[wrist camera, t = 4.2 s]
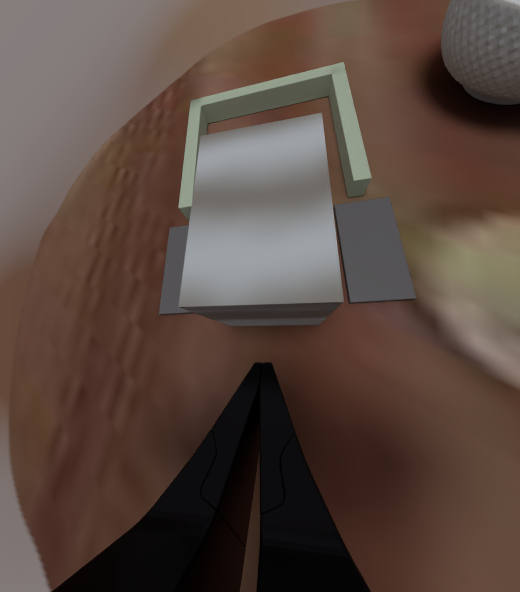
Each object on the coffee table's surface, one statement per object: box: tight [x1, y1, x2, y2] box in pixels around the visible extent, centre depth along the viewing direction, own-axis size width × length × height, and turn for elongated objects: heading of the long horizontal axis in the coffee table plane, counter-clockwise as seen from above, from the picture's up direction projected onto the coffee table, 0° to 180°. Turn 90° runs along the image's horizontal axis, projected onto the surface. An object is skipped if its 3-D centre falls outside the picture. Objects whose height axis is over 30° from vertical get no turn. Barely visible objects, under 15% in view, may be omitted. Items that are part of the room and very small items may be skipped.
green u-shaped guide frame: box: [159, 62, 416, 315], centre depth 20 cm, size 28×23×2 cm
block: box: [178, 113, 344, 326], centre depth 15 cm, size 12×8×8 cm, turn 179°
